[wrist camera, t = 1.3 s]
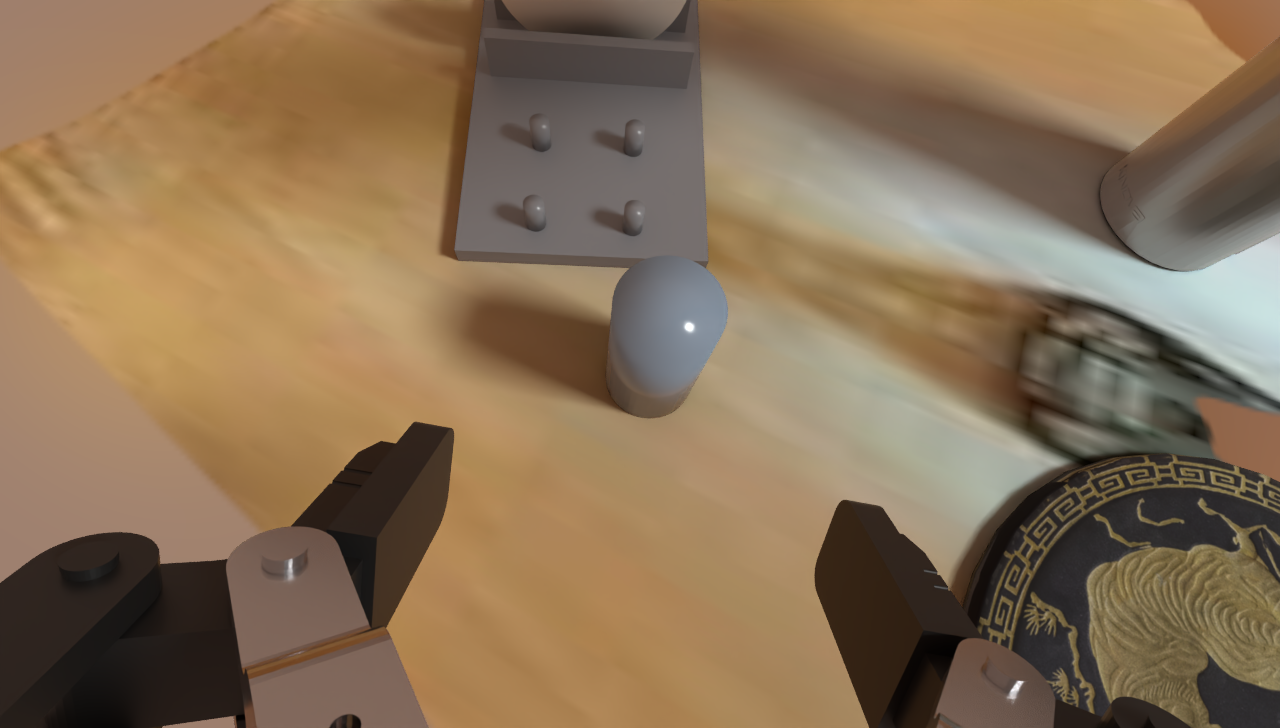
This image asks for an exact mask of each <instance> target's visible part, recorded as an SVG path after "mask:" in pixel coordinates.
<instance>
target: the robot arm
mask: <svg viewBox="0 0 1280 728" xmlns="http://www.w3.org/2000/svg"><path fill="white" fill-rule="evenodd" d="M1100 199H1101V205H1102V209H1103V212H1104V214H1105V217H1106V219H1107V221H1108V223H1109V224H1110V226H1111V228H1112V229H1113V231H1114V232H1115V233H1116V235H1117V236H1118V237H1119V238H1120V239H1121V240H1122V241H1123V242H1124V243H1125V244H1126V245H1127V246H1128V247H1129V248H1130V249H1132V250H1133V251H1134V252H1135V253H1137V254H1138V255H1140V256H1141V257H1143V258H1145V259H1146V260H1148V261H1150V262H1152V263H1155V264H1157V265H1160V266H1162V267H1165V268H1169V269H1173V270H1178V271H1194V270H1200V269H1204V268H1206V267H1208V266H1211V265H1213V264H1215V263H1217V262H1219V261H1221V260H1223V259H1225V258H1227V257H1229V256H1231V255H1233V254H1238V253H1240V252H1242V251H1244V250H1246V249H1248V248H1250V247H1252V246H1254V245H1256V244H1258V243H1260V242H1262V241H1264V240H1267V239H1269V238H1271V237H1273V236H1275V235H1277V234H1279V233H1280V37H1278V38H1277V39H1276V40H1275V41H1273V42H1272V43H1271V44H1269V45H1268V46H1267V47H1265V48H1264V49H1263V50H1262V51H1260V52H1259V53H1258V54H1257V55H1255V56H1254V57H1253V58H1252V59H1250V60H1249V61H1247V62H1246V63H1245V64H1244V65H1242V66H1241V67H1240V68H1238V69H1237V70H1236V71H1235V72H1233V73H1232V74H1231V75H1229V76H1228V77H1227V78H1226V79H1224V80H1223V81H1222V82H1220V83H1219V84H1218V85H1217V86H1215V87H1214V88H1213V89H1211V90H1210V91H1209V92H1208V93H1206V94H1205V95H1204V96H1203V97H1201V98H1200V99H1199V100H1197V101H1196V102H1195V103H1194V104H1192V105H1191V106H1190V107H1188V108H1187V109H1186V110H1185V111H1183V112H1182V113H1181V114H1179V115H1178V116H1177V117H1176V118H1174V119H1173V120H1172V121H1170V122H1169V123H1168V124H1167V125H1165V126H1164V127H1163V128H1161V129H1160V130H1159V131H1158V132H1156V133H1155V134H1154V135H1152V136H1151V137H1150V138H1149V139H1147V140H1146V141H1145V142H1144V143H1142V144H1141V145H1140V146H1138V147H1137V148H1136V149H1135V150H1133V151H1132V152H1131V153H1129V154H1128V155H1127V156H1126V157H1124V158H1123V159H1122V160H1121V161H1119V162H1118V163H1117V164H1115V165H1114V166H1113V167H1112V168H1110V169H1109V171H1108V172H1107V173H1106V175H1105V176H1104V178H1103V181H1102V184H1101V190H1100ZM453 443H454V431H453V429H452V428H448V427H442V426H437V425H431V424H425V423H420V422H414V423H413V424H412V425H411V426H410V427H409V428H408V430H407V431H406V432H405V433H404V435H403V436H402V437H401V438H400V439H399V441H398V442H397V443H396V444H395V443H389V442H383V441H380V442H378V443H376V444H374V445H372V446H370V447H368V448H366V449H364V450H362V451H360V452H358V453H357V454H356V455H355V457H354V458H353V459H352V460H351V461H350V462H349V463H348V464H347V465H346V466H345V468H344V471H341V472H340V473H339V474H338V475H337V476H336V477H335V478H334V480H333V482H332V484H329V485H328V486H327V487H326V488H325V489H324V491H323V492H322V493H321V494H320V495H319V496H318V497H317V498H316V499H315V500H314V502H313V503H312V504H311V505H310V506H309V507H308V508H307V509H306V510H305V511H304V513H303V514H302V515H301V516H300V517H299V518H298V519H297V520H296V521H295V522H294V524H293V525H292V526H291V527H283V528H277V529H273V530H269V531H266V532H263V533H260V534H258V535H255V536H253V537H251V538H250V539H248V540H246V541H244V542H243V543H242V544H240V545H239V546H238V547H237V548H236V549H235V550H234V551H233V552H232V553H231V555H230V556H229V558H228V559H225V560H217V561H203V562H187V563H169V564H160V556H159V549H158V547H157V545H156V544H155V543H154V542H153V541H152V540H151V539H149V538H147V537H145V536H142V535H138V534H133V533H122V532H115V533H102V534H96V535H89V536H85V537H81V538H77V539H74V540H70V541H68V542H65V543H62V544H60V545H57V546H55V547H52V548H50V549H48V550H47V551H45V552H43V553H41V554H39V555H38V556H36V557H35V558H33V559H32V560H30V561H29V562H28V563H26V564H25V565H24V566H22V567H21V568H20V569H18V570H17V571H16V572H14V573H13V574H12V575H10V576H9V577H8V578H6V579H5V580H4V581H2V582H1V583H0V728H162V727H163V726H166V725H173V724H180V723H187V722H194V721H201V720H208V719H214V718H222V717H229V716H233V718H234V725H235V728H429V727H428V725H427V722H426V720H425V718H424V715H423V713H422V710H421V708H420V706H419V703H418V701H417V698H416V696H415V694H414V691H413V689H412V686H411V684H410V682H409V679H408V677H407V674H406V672H405V670H404V667H403V665H402V662H401V660H400V658H399V655H398V653H397V650H396V648H395V646H394V643H393V641H392V638H391V636H390V634H389V632H388V631H387V629H386V627H387V625H388V623H389V621H390V619H391V618H392V616H393V614H394V612H395V610H396V608H397V606H398V604H399V602H400V600H401V599H402V597H403V595H404V593H405V591H406V589H407V587H408V585H409V583H410V581H411V580H412V578H413V576H414V574H415V572H416V570H417V568H418V566H419V564H420V562H421V560H422V559H423V557H424V555H425V553H426V551H427V549H428V547H429V545H430V543H431V541H432V540H433V538H434V536H435V534H436V532H437V530H438V528H439V526H440V524H441V521H442V518H443V515H444V512H445V508H446V504H447V499H448V491H449V482H450V472H451V462H452V453H453ZM815 587H816V591H817V594H818V597H819V599H820V602H821V604H822V607H823V609H824V612H825V615H826V617H827V620H828V622H829V625H830V628H831V630H832V633H833V635H834V638H835V640H836V643H837V646H838V648H839V651H840V653H841V656H842V658H843V661H844V664H845V666H846V669H847V671H848V674H849V677H850V679H851V682H852V684H853V687H854V689H855V692H856V695H857V697H858V700H859V702H860V705H861V707H862V710H863V713H864V715H865V718H866V720H867V723H868V726H869V728H1191V727H1190V726H1189V725H1187V724H1186V723H1185V722H1183V721H1182V720H1180V719H1179V718H1177V717H1176V716H1174V715H1172V714H1171V713H1169V712H1167V711H1166V710H1164V709H1162V708H1160V707H1158V706H1156V705H1154V704H1152V703H1149V702H1147V701H1144V700H1141V699H1137V698H1134V697H1127V696H1126V697H1118V698H1116V699H1114V700H1113V701H1112V703H1111V704H1110V706H1109V708H1108V709H1107V711H1106V712H1105V714H1104V715H1103V717H1101V716H1098V715H1096V714H1093V713H1091V712H1088V711H1086V710H1083V709H1081V708H1078V707H1076V706H1073V705H1071V704H1068V703H1066V702H1063V701H1061V700H1058V699H1056V698H1055V696H1054V693H1053V691H1052V689H1051V687H1050V685H1049V684H1048V682H1047V681H1046V679H1045V678H1044V677H1043V676H1042V675H1041V674H1040V672H1039V671H1038V670H1036V669H1035V668H1034V667H1033V666H1032V665H1031V664H1030V663H1029V662H1027V661H1026V660H1025V659H1023V658H1022V657H1021V656H1019V655H1018V654H1016V653H1014V652H1013V651H1011V650H1009V649H1008V648H1006V647H1004V646H1002V645H999V644H997V643H994V642H991V641H988V640H984V639H983V637H982V636H981V634H980V633H979V631H978V630H977V628H976V627H975V625H974V624H973V623H972V621H971V620H970V618H969V617H968V615H967V614H966V612H965V611H964V609H963V608H962V607H961V605H960V604H959V602H958V601H957V599H956V598H955V596H954V595H953V593H952V592H951V591H948V586H947V585H946V583H945V582H944V580H943V579H942V577H941V576H940V575H937V570H936V569H935V567H934V566H933V564H932V563H931V561H930V560H929V558H928V557H927V556H926V554H925V553H924V552H923V551H922V550H921V549H920V548H919V547H917V546H916V545H915V544H914V543H913V542H912V541H911V540H909V539H908V538H907V537H906V536H905V535H904V534H900V533H899V532H898V530H897V529H896V527H895V526H894V524H893V523H892V521H891V520H890V518H889V517H888V515H887V514H886V512H885V511H884V509H883V508H882V507H880V506H877V505H871V504H866V503H860V502H855V501H849V500H843V501H841V502H840V503H839V504H838V506H837V508H836V510H835V513H834V516H833V518H832V521H831V524H830V526H829V529H828V532H827V534H826V537H825V540H824V542H823V545H822V548H821V550H820V553H819V556H818V559H817V562H816V567H815Z"/></svg>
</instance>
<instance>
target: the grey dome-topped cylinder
mask: <svg viewBox="0 0 1280 728" xmlns="http://www.w3.org/2000/svg"><path fill="white" fill-rule="evenodd" d="M727 317H728V307H727V300H726V297H725V294H724V291H723V289H722V287H721V285H720V284H719V282H718V281H717V279H716V278H715V277H714V276H713V275H712V274H711V273H710V272H709V271H708V270H707V269H705V268H704V267H703V266H701V265H700V264H698V263H696V262H694V261H692V260H689V259H686V258H683V257H678V256H670V255H663V256H655V257H651V258H647V259H645V260H642V261H640V262H639V263H637V264H635V265H634V266H632V267H631V268H630V269H629V270H627V271H626V272H625V273H624V275H623V276H622V277H621V279H620V280H619V282H618V284H617V286H616V288H615V291H614V295H613V301H612V312H611V323H610V333H609V344H608V355H607V366H606V384H607V388H608V391H609V393H610V395H611V397H612V398H613V400H614V401H615V402H616V403H617V405H618V406H620V407H621V408H622V409H623V410H625V411H626V412H628V413H630V414H632V415H634V416H637V417H642V418H658V417H662V416H666V415H668V414H670V413H672V412H673V411H675V410H676V409H678V408H679V407H680V406H681V405H682V404H683V402H684V401H685V399H686V398H687V396H688V394H689V393H690V391H691V389H692V387H693V385H694V384H695V382H696V380H697V378H698V376H699V375H700V373H701V371H702V369H703V368H704V366H705V364H706V362H707V360H708V359H709V357H710V355H711V353H712V351H713V350H714V348H715V346H716V344H717V342H718V341H719V339H720V337H721V335H722V333H723V331H724V329H725V326H726V323H727Z"/></svg>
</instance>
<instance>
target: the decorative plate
mask: <svg viewBox="0 0 1280 728" xmlns="http://www.w3.org/2000/svg"><path fill="white" fill-rule="evenodd" d="M962 608H963V609H964V611H965V612H966V614H967V615H968V617H969V618H970V620H971V621H972V623H973V624H974V625H975V627H976V628H977V630H978V631H979V633H980V634H981V636H982V637H983V639H984V640H988V641H991V642H994V643H997V644H999V645H1002V646H1004V647H1006V648H1008V649H1009V650H1011V651H1013V652H1014V653H1016V654H1018V655H1019V656H1021V657H1022V658H1023V659H1025V660H1026V661H1027V662H1029V663H1030V664H1031V665H1032V666H1033V667H1034V668H1035V669H1036V670H1038V671H1039V672H1040V674H1041V675H1042V676H1043V677H1044V678H1045V679H1046V681H1047V682H1048V684H1049V685H1050V687H1051V689H1052V691H1053V693H1054V696H1055V698H1056V699H1058V700H1061V701H1063V702H1066V703H1068V704H1071V705H1073V706H1076V707H1078V708H1081V709H1083V710H1086V711H1088V712H1091V713H1093V714H1096V715H1098V716H1101V717H1103V715H1104V714H1105V712H1106V711H1107V709H1108V708H1109V706H1110V704H1111V703H1112V701H1113V700H1114V699H1116V698H1118V697H1126V696H1127V697H1134V698H1137V699H1141V700H1144V701H1147V702H1149V703H1152V704H1154V705H1156V706H1158V707H1160V708H1162V709H1164V710H1166V711H1167V712H1169V713H1171V714H1172V715H1174V716H1176V717H1177V718H1179V719H1180V720H1182V721H1183V722H1185V723H1186V724H1187V725H1189V726H1190V727H1191V728H1280V482H1278V481H1276V480H1274V479H1272V478H1270V477H1268V476H1266V475H1263V474H1260V473H1257V472H1254V471H1251V470H1247V469H1244V468H1241V467H1238V466H1235V465H1231V464H1228V463H1225V462H1222V461H1218V460H1215V459H1208V458H1200V457H1192V456H1183V455H1175V454H1149V455H1137V456H1126V457H1115V458H1106V459H1103V460H1100V461H1097V462H1094V463H1091V464H1088V465H1085V466H1082V467H1079V468H1076V469H1073V470H1070V471H1067V472H1065V473H1063V474H1062V475H1060V476H1059V477H1057V478H1055V479H1054V480H1052V481H1051V482H1049V483H1048V484H1046V485H1045V486H1043V487H1041V488H1040V489H1038V490H1037V491H1035V492H1034V493H1032V494H1031V495H1029V496H1028V497H1027V498H1026V499H1025V500H1024V501H1023V502H1022V503H1021V504H1020V505H1019V507H1018V508H1017V509H1016V510H1015V511H1014V512H1013V513H1012V514H1011V515H1010V516H1009V517H1008V518H1007V519H1006V521H1005V522H1004V523H1003V524H1002V525H1001V526H1000V527H999V528H998V529H997V531H996V532H995V534H994V536H993V538H992V540H991V541H990V543H989V545H988V547H987V549H986V550H985V552H984V554H983V556H982V557H981V559H980V561H979V563H978V565H977V566H976V568H975V570H974V572H973V574H972V577H971V580H970V584H969V587H968V590H967V594H966V597H965V600H964V603H963V607H962Z"/></svg>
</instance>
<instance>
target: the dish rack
mask: <svg viewBox="0 0 1280 728" xmlns="http://www.w3.org/2000/svg"><path fill="white" fill-rule="evenodd" d="M454 251H455V253H456V256H457V258H458V260H459V261H482V262H506V263H530V264H553V265H577V266H601V267H624V268H631V267H632V266H634V265H635V264H637V263H639V262H640V261H642V260H645V259H647V258H651V257H655V256H663V255H670V256H678V257H683V258H686V259H689V260H692V261H694V262H696V263H698V264H700V265H701V266H703V267H704V268H705V269H706V266H707V263H708V243H707V219H706V195H705V170H704V146H703V122H702V98H701V74H700V49H699V25H698V1H697V0H484V8H483V16H482V25H481V33H480V41H479V49H478V58H477V66H476V74H475V83H474V91H473V99H472V108H471V116H470V124H469V133H468V141H467V149H466V158H465V166H464V174H463V183H462V191H461V199H460V207H459V216H458V224H457V232H456V241H455V249H454Z"/></svg>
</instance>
